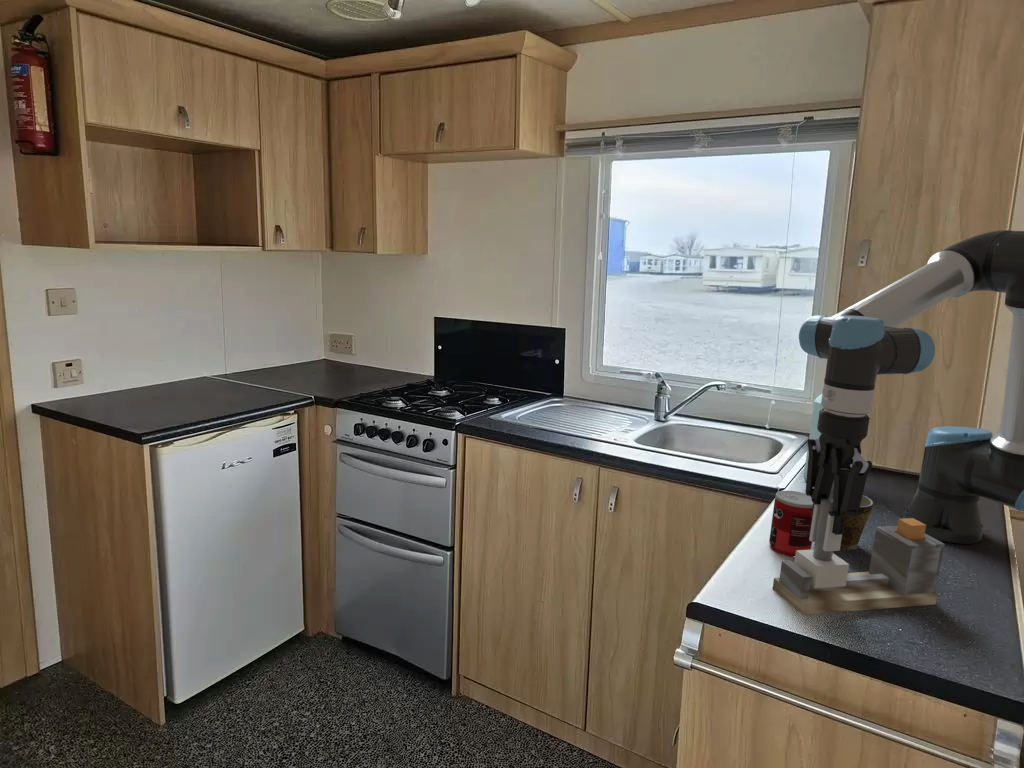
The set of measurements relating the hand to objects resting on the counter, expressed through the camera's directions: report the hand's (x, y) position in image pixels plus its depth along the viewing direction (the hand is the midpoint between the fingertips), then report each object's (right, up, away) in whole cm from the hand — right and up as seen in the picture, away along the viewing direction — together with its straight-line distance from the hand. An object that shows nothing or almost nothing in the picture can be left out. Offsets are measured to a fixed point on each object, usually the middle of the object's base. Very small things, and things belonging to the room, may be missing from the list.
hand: (824, 545), depth 122 cm
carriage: (0, -6, +1) cm, 6 cm away
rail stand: (+7, -10, +4) cm, 13 cm away
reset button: (+17, 0, +4) cm, 17 cm away
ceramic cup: (+13, -5, +26) cm, 30 cm away
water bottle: (+27, +2, +63) cm, 68 cm away
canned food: (+2, -6, +22) cm, 23 cm away
